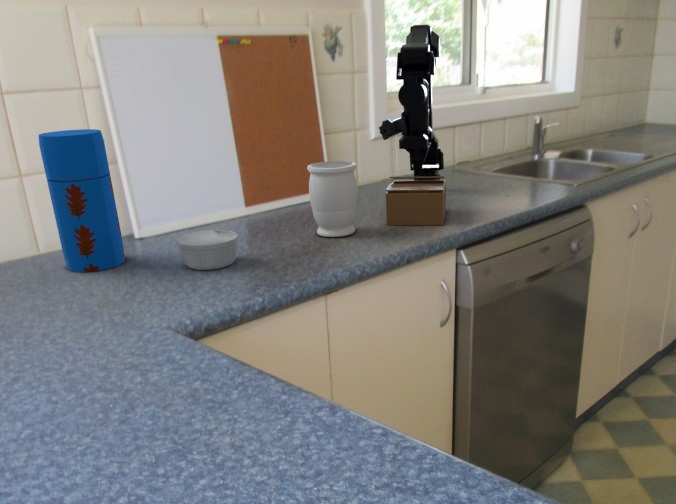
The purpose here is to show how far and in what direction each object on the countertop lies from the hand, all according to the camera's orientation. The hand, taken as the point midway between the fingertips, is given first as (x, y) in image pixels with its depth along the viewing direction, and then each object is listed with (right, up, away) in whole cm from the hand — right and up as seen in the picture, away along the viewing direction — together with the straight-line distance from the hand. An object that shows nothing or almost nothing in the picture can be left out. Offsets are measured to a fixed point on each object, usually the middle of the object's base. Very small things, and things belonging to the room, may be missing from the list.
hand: (417, 174), depth 155 cm
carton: (0, -10, +2) cm, 10 cm away
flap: (0, 0, +3) cm, 3 cm away
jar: (-18, -15, -9) cm, 25 cm away
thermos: (-63, -22, -26) cm, 72 cm away
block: (0, -8, +5) cm, 10 cm away
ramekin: (-40, -22, -28) cm, 54 cm away
